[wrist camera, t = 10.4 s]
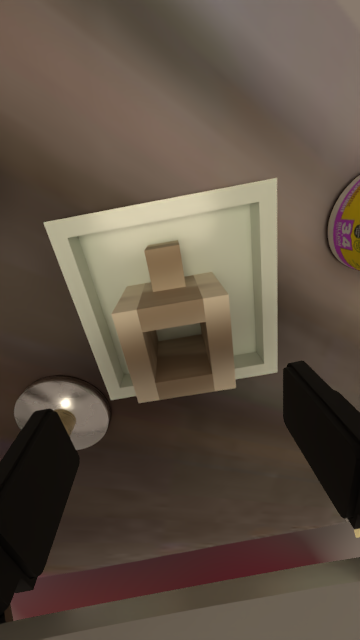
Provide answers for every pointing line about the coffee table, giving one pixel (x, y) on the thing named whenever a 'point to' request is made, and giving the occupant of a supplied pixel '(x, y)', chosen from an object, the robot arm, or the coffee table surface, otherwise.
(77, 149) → the coffee table surface
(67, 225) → the tray
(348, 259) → the supplement bottle
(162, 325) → the beige lantern
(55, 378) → the round disc with post
